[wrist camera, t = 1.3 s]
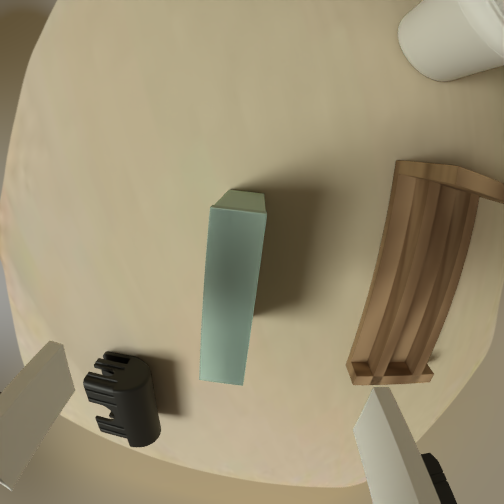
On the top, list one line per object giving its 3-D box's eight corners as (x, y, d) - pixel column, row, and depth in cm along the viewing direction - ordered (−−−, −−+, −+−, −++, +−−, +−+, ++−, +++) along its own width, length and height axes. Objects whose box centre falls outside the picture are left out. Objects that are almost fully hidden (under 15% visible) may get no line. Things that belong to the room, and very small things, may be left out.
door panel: (216, 313, 30) (199, 379, 20) (228, 188, 26) (210, 207, 16) (248, 317, 30) (242, 385, 20) (264, 193, 26) (266, 214, 16)
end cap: (167, 414, 35) (154, 452, 28) (118, 404, 35) (100, 439, 28) (158, 356, 32) (140, 396, 25) (103, 346, 32) (78, 381, 25)
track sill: (345, 364, 31) (368, 430, 22) (396, 160, 25) (458, 166, 15) (418, 364, 31) (452, 419, 22) (473, 183, 25) (539, 200, 15)
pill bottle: (471, 72, 21) (572, 48, 7) (422, 92, 22) (533, 62, 8) (433, 8, 19) (516, -46, 5) (380, 22, 20) (460, -53, 6)
